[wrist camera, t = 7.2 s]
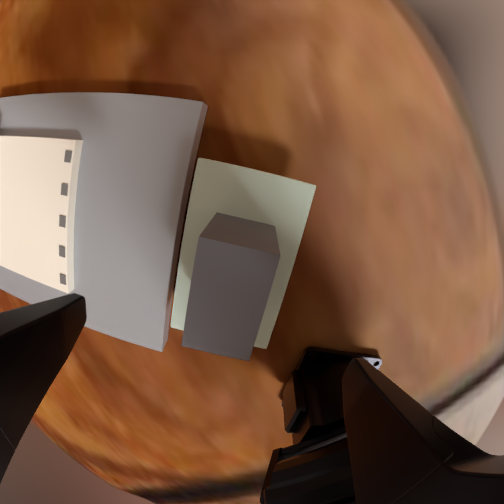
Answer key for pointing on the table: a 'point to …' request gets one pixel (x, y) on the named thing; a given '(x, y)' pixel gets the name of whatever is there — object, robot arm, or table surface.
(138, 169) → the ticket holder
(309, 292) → the table surface
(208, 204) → the gray block on plate
